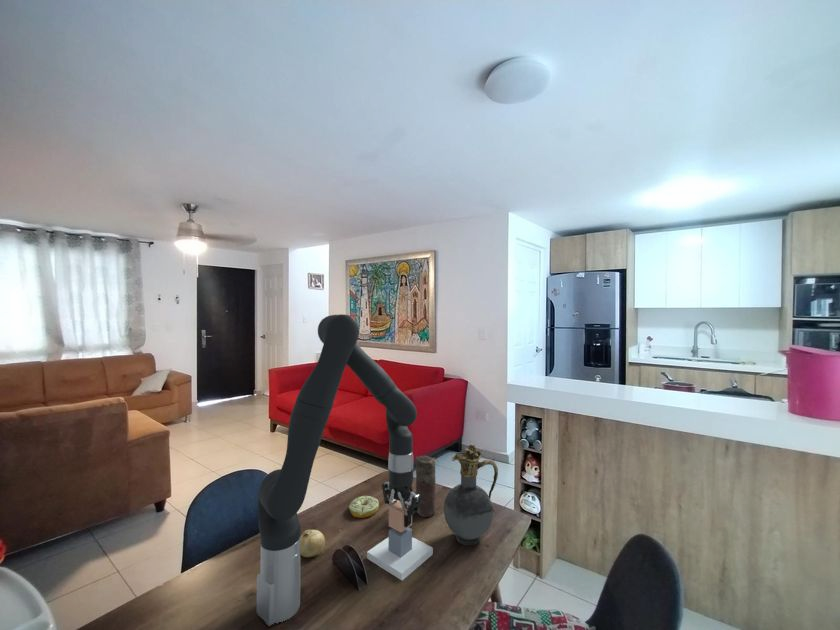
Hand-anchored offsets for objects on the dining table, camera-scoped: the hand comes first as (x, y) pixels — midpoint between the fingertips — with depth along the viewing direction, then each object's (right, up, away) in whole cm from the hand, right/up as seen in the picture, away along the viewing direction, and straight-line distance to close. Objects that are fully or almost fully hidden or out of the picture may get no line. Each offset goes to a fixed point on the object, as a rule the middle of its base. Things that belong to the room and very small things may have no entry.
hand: (400, 522), depth 109 cm
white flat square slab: (0, -10, 0) cm, 10 cm away
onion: (-27, -10, +1) cm, 29 cm away
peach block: (0, -1, 0) cm, 1 cm away
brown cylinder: (+8, -10, +24) cm, 28 cm away
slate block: (0, -8, 0) cm, 8 cm away
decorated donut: (-15, -10, +25) cm, 31 cm away
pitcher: (+23, -11, +10) cm, 27 cm away
